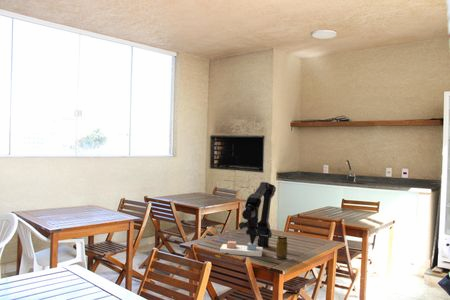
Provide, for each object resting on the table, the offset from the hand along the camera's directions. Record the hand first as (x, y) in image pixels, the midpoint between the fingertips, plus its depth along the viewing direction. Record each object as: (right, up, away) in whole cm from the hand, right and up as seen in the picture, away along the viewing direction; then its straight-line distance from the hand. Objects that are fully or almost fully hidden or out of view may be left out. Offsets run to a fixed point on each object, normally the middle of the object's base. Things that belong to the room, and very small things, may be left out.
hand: (252, 243), depth 228 cm
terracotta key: (-12, -3, +2) cm, 13 cm away
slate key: (0, -4, 0) cm, 4 cm away
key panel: (-6, -5, +1) cm, 8 cm away
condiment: (+17, -7, -8) cm, 20 cm away
